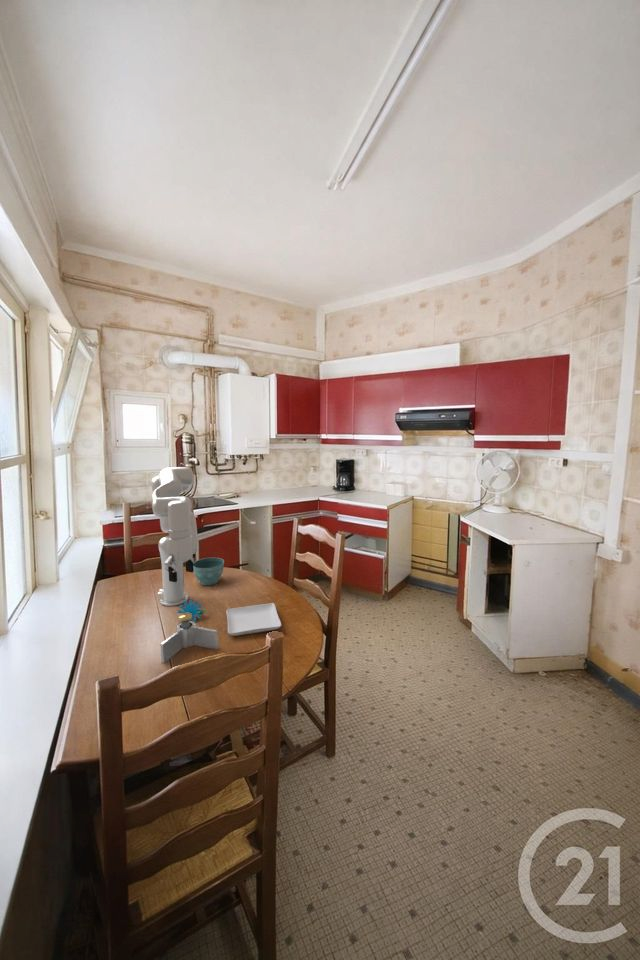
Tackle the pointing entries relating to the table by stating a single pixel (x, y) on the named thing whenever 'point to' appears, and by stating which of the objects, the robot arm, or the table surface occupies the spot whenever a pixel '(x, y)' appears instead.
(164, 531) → the robot arm
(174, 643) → the hinge
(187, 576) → the table surface
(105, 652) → the table surface
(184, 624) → the pin
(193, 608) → the blue spiky piece
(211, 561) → the teal bowl
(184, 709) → the table surface
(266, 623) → the salad plate
